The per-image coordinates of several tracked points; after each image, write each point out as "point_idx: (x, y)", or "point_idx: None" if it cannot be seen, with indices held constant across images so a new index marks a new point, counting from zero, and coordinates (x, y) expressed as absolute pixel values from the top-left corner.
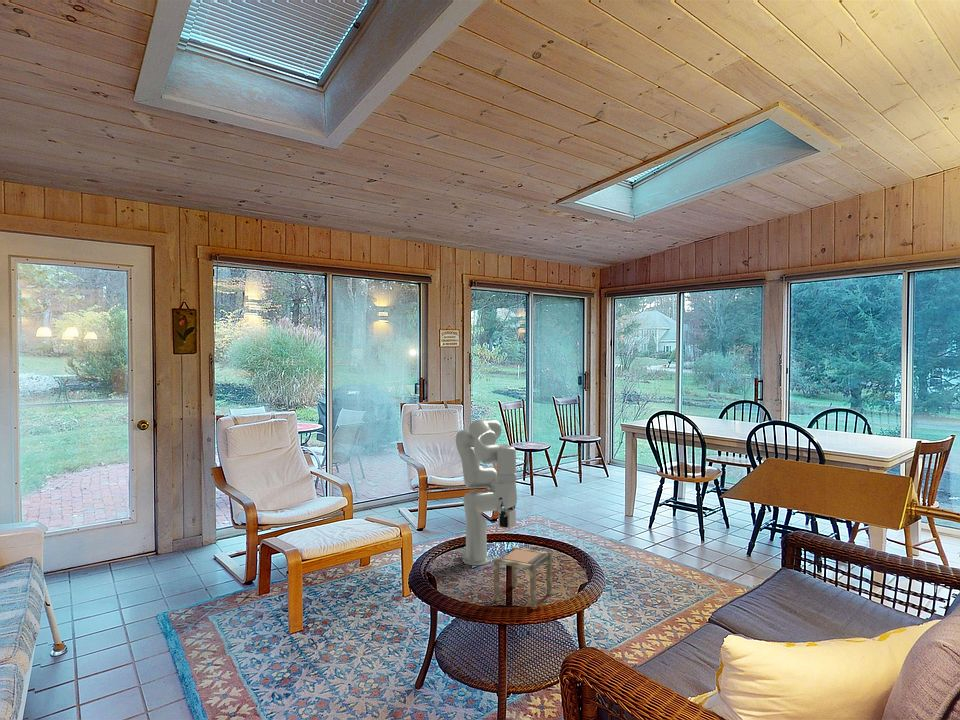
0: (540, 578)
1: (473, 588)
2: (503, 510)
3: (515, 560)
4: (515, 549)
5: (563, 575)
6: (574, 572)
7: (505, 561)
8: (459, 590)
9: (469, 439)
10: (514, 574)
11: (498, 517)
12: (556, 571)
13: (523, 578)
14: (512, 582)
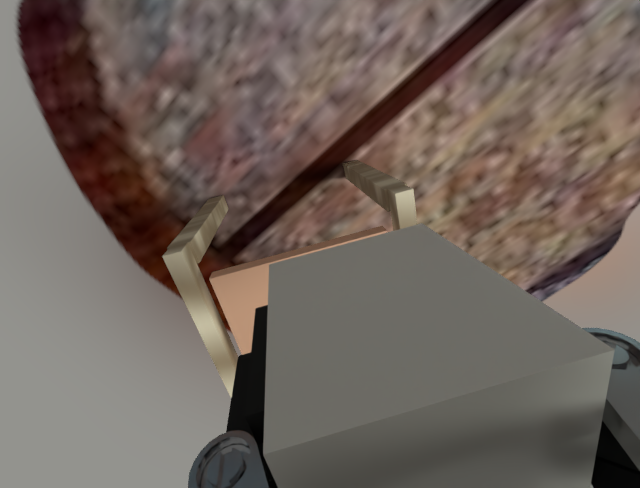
0: (467, 183)
1: (230, 47)
2: (439, 452)
3: (240, 345)
4: (378, 234)
5: (527, 222)
6: (565, 231)
7: (194, 318)
8: (166, 9)
9: None
10: (356, 183)
11: (268, 340)
12: (550, 184)
13: (436, 137)
14: (346, 169)
